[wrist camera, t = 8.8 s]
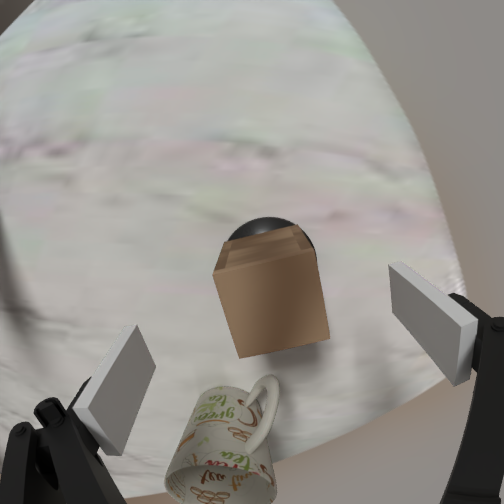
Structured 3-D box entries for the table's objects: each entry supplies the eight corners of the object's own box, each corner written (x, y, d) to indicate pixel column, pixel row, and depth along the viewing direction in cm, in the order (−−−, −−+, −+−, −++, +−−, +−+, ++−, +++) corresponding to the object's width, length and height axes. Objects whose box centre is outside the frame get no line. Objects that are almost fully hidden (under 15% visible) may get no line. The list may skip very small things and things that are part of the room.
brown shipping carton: (243, 308, 24) (239, 358, 18) (224, 242, 23) (212, 274, 16) (311, 292, 24) (330, 338, 17) (297, 224, 22) (314, 250, 16)
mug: (173, 418, 29) (152, 496, 19) (223, 325, 26) (208, 411, 16) (248, 444, 30) (246, 522, 20) (312, 361, 26) (334, 448, 17)
